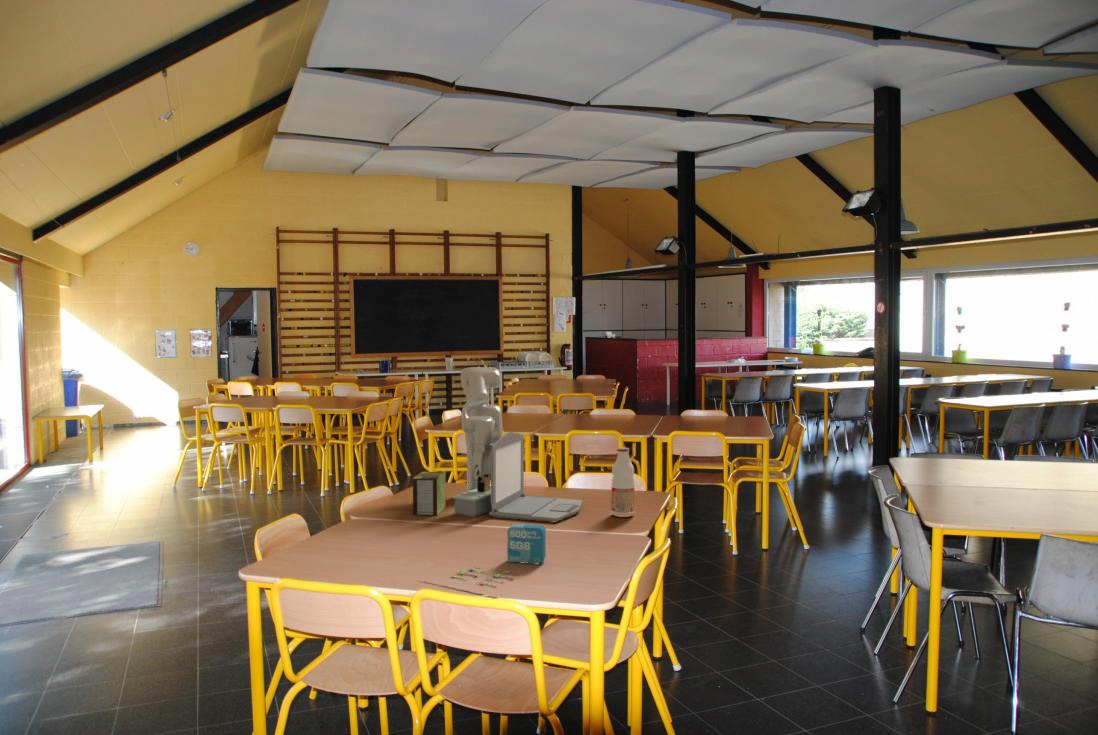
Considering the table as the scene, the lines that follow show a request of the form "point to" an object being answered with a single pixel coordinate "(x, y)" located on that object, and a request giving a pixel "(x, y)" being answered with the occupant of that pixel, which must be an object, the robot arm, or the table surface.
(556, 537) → the table surface
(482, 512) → the tub
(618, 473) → the fruit juice
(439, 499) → the protein box
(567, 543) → the table surface
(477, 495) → the lid
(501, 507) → the laptop
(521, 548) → the data package
